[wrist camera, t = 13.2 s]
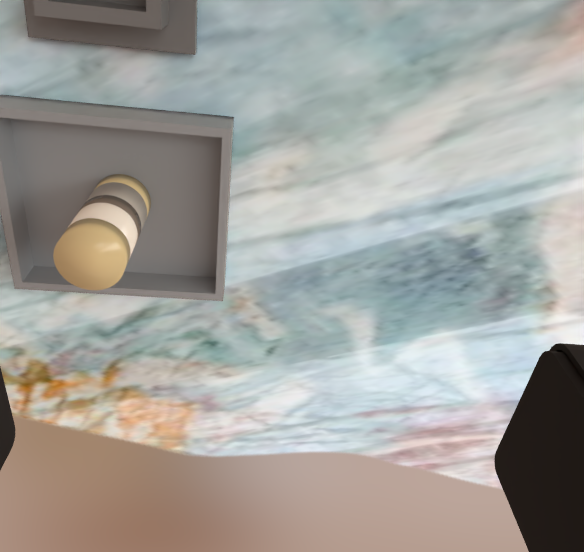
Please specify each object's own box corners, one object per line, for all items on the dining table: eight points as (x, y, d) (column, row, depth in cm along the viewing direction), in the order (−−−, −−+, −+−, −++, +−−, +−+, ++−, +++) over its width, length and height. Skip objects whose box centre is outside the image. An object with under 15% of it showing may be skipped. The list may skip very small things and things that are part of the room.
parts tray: (233, 116, 36) (232, 129, 34) (224, 280, 43) (223, 300, 41) (1, 94, 35) (-19, 105, 32) (29, 268, 42) (14, 288, 39)
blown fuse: (150, 176, 38) (123, 232, 30) (152, 227, 40) (126, 292, 32) (91, 171, 37) (48, 227, 30) (96, 223, 39) (57, 288, 32)
